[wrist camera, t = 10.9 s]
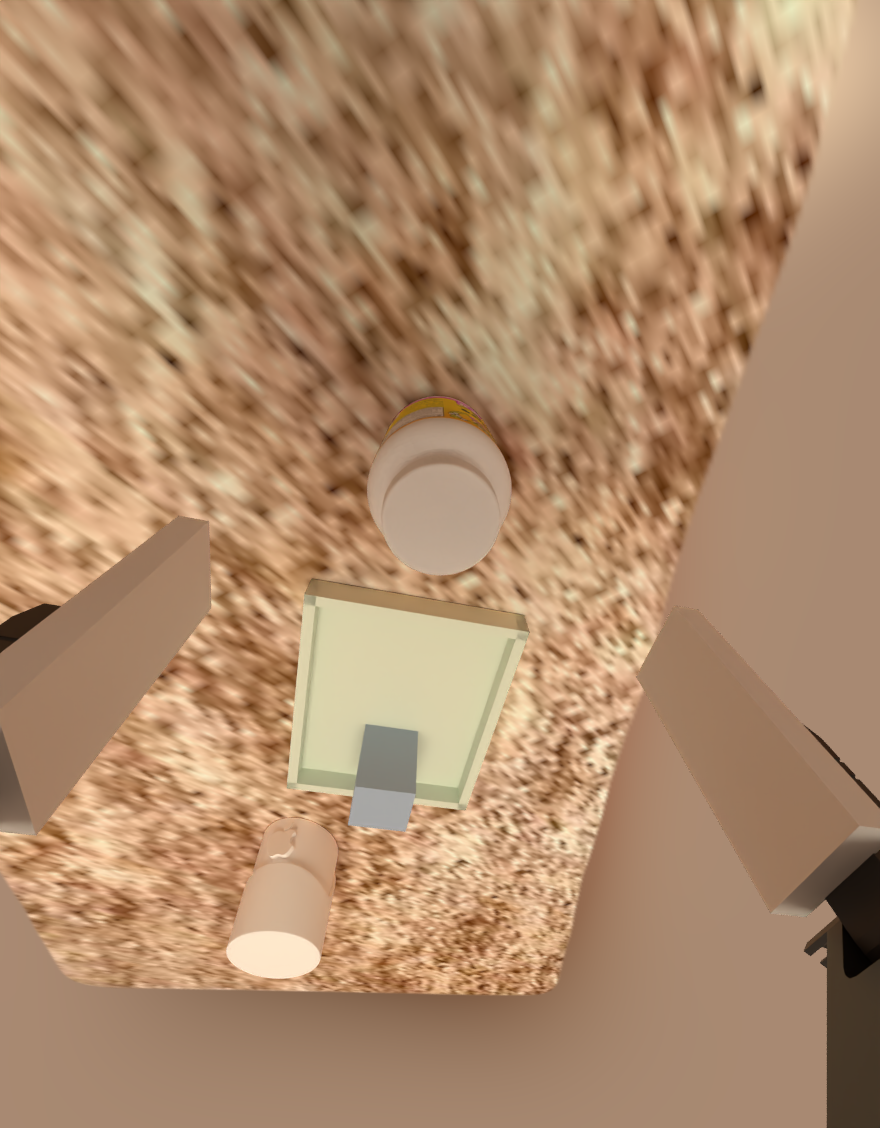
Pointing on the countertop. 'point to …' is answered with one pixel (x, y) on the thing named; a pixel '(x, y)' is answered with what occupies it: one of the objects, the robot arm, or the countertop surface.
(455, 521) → the supplement bottle
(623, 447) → the countertop surface
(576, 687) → the countertop surface
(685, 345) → the countertop surface
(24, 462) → the countertop surface
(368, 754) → the grey rectangular block
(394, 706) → the tray
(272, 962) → the mug
